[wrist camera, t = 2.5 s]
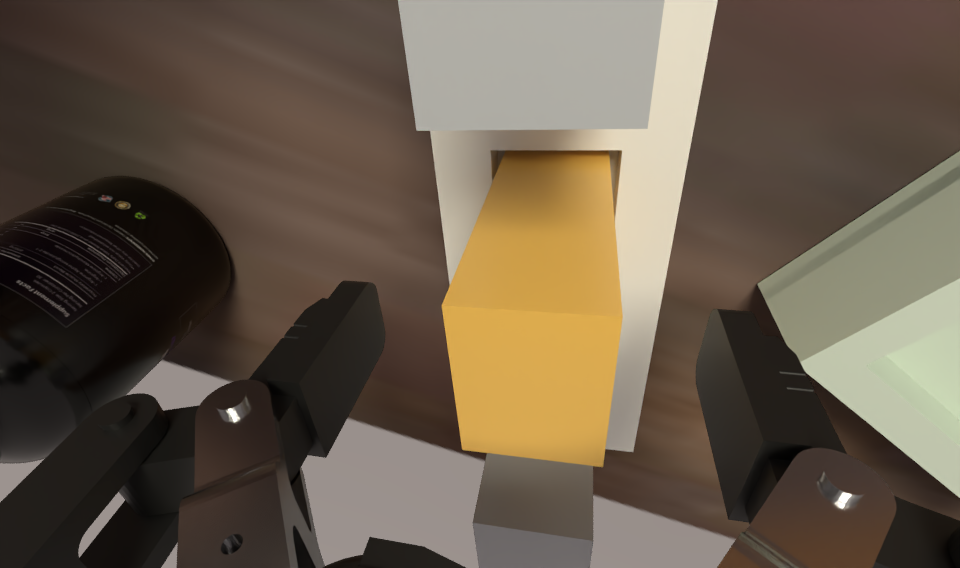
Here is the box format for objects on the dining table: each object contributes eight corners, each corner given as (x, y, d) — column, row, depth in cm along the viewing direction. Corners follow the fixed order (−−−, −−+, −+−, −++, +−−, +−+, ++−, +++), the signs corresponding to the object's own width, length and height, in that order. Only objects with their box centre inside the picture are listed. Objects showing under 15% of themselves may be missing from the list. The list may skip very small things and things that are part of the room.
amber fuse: (507, 146, 15) (441, 305, 8) (608, 146, 14) (623, 317, 8) (511, 257, 17) (462, 450, 10) (598, 261, 16) (602, 467, 10)
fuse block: (413, -234, 11) (379, -267, 9) (746, -288, 10) (781, -340, 8) (477, 395, 23) (468, 433, 21) (629, 410, 22) (633, 452, 20)
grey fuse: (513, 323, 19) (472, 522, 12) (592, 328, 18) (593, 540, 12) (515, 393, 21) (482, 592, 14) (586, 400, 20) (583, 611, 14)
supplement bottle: (230, 326, 23) (-19, 592, 14) (94, 264, 23) (-268, 500, 13) (247, 217, 19) (-90, 487, 10) (81, 138, 19) (-456, 346, 9)
